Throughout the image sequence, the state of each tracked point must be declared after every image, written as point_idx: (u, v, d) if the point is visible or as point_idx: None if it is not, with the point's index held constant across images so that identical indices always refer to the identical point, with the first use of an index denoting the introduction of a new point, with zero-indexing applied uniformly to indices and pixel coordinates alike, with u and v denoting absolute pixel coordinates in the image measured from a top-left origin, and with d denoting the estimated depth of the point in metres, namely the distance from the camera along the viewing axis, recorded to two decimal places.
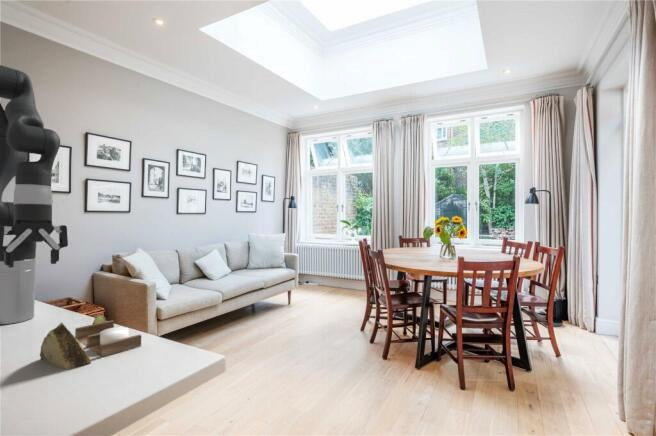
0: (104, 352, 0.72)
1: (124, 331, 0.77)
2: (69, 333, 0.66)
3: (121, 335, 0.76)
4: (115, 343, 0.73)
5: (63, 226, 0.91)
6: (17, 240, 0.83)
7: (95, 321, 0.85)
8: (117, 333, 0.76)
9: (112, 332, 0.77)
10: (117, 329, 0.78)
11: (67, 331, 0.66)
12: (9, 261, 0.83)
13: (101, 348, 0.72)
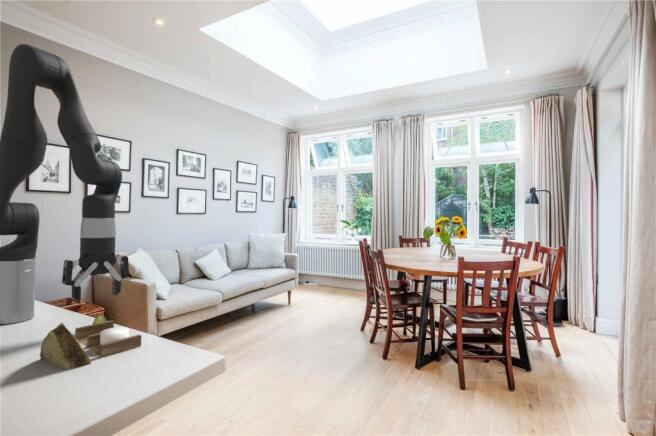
0: (104, 352, 0.72)
1: (124, 331, 0.77)
2: (69, 333, 0.66)
3: (121, 335, 0.76)
4: (115, 343, 0.73)
5: (125, 257, 0.91)
6: (84, 274, 0.83)
7: (95, 321, 0.85)
8: (117, 333, 0.76)
9: (113, 331, 0.77)
10: (117, 329, 0.78)
11: (67, 331, 0.66)
12: (76, 295, 0.82)
13: (101, 348, 0.72)
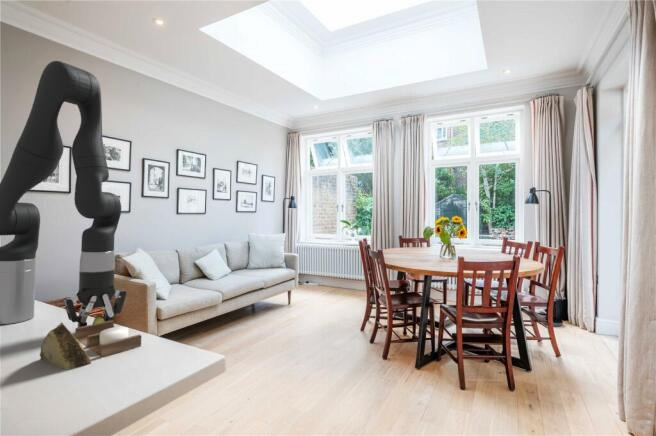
0: (104, 352, 0.72)
1: (124, 331, 0.77)
2: (69, 333, 0.66)
3: (121, 335, 0.76)
4: (115, 343, 0.73)
5: (123, 292, 0.91)
6: (87, 310, 0.84)
7: (95, 321, 0.85)
8: (117, 333, 0.76)
9: (112, 332, 0.77)
10: (116, 329, 0.78)
11: (67, 331, 0.66)
12: None
13: (101, 348, 0.72)
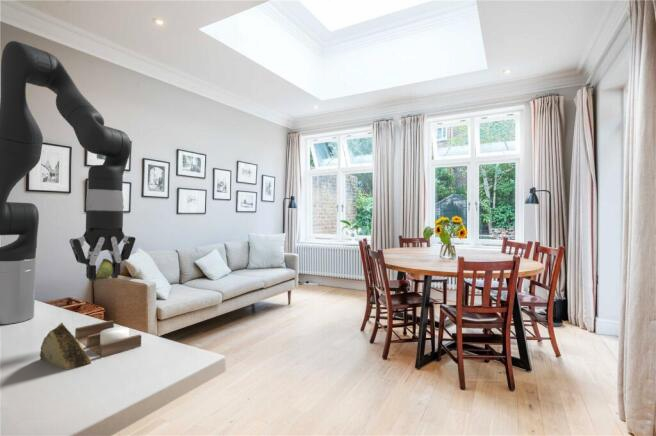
0: (104, 352, 0.72)
1: (125, 330, 0.78)
2: (69, 333, 0.66)
3: (124, 334, 0.76)
4: (115, 343, 0.73)
5: (132, 238, 0.86)
6: (95, 251, 0.78)
7: (102, 265, 0.79)
8: (119, 332, 0.76)
9: (113, 331, 0.77)
10: (116, 329, 0.78)
11: (67, 331, 0.66)
12: (91, 275, 0.79)
13: (101, 348, 0.72)
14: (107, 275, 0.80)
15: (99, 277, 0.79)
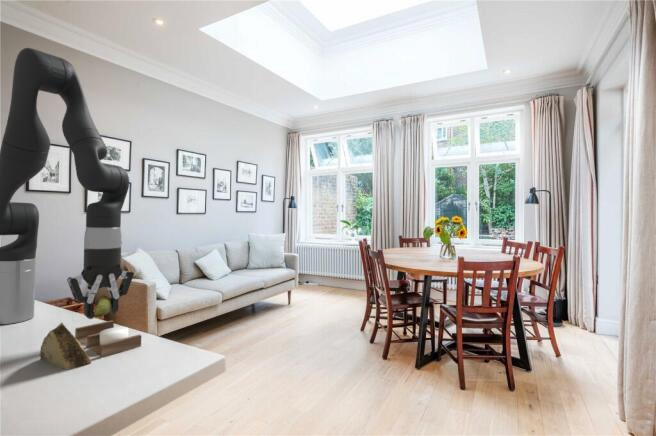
0: (104, 352, 0.72)
1: (125, 329, 0.78)
2: (69, 333, 0.66)
3: (124, 333, 0.76)
4: (115, 343, 0.73)
5: (131, 273, 0.85)
6: (93, 289, 0.78)
7: (100, 302, 0.79)
8: (119, 332, 0.76)
9: (113, 331, 0.77)
10: (115, 329, 0.78)
11: (67, 331, 0.66)
12: (89, 313, 0.79)
13: (101, 348, 0.72)
14: (105, 312, 0.80)
15: (97, 315, 0.79)
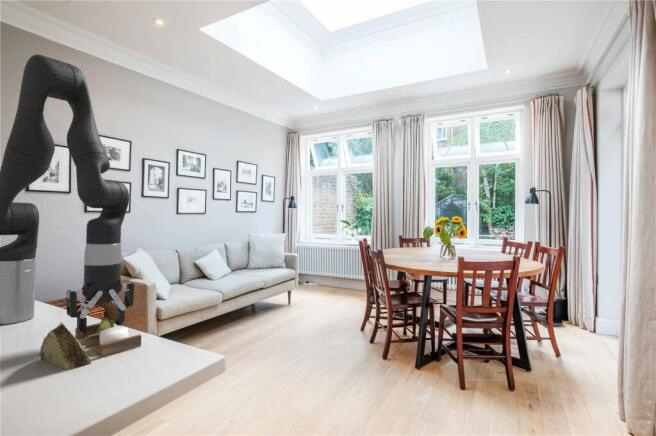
0: (104, 352, 0.72)
1: (125, 329, 0.78)
2: (69, 333, 0.66)
3: (125, 333, 0.77)
4: (115, 343, 0.73)
5: (131, 284, 0.86)
6: (89, 305, 0.78)
7: (102, 325, 0.80)
8: (120, 332, 0.76)
9: (113, 332, 0.77)
10: (114, 329, 0.78)
11: (67, 331, 0.66)
12: (82, 328, 0.78)
13: (101, 348, 0.72)
14: None
15: None
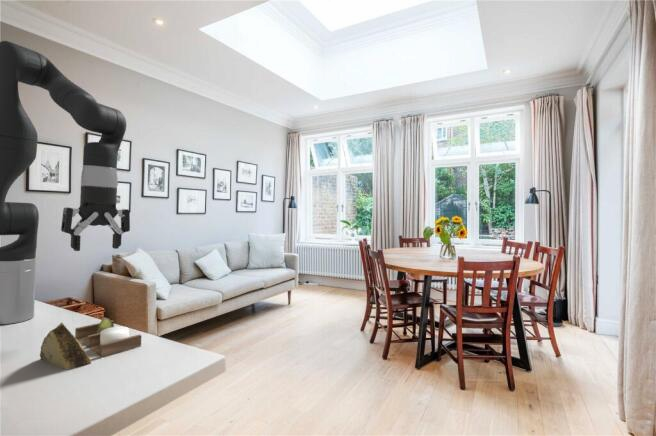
0: (104, 352, 0.72)
1: (125, 329, 0.78)
2: (69, 333, 0.66)
3: (127, 333, 0.77)
4: (115, 343, 0.73)
5: (126, 210, 0.88)
6: (84, 223, 0.80)
7: (102, 325, 0.80)
8: (121, 332, 0.77)
9: (114, 331, 0.77)
10: (114, 329, 0.78)
11: (67, 331, 0.66)
12: (76, 245, 0.80)
13: (101, 348, 0.72)
14: None
15: None
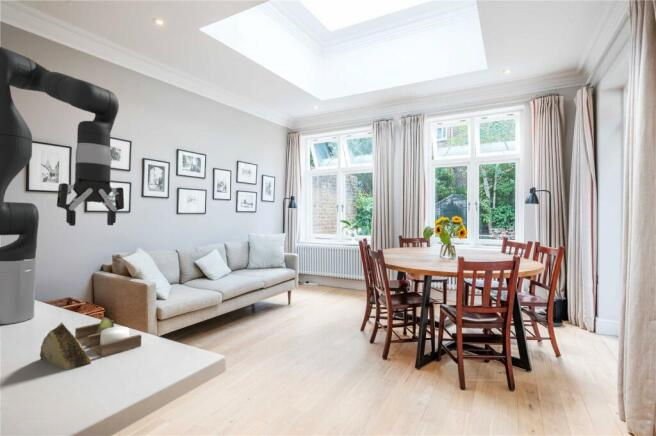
0: (104, 352, 0.72)
1: (126, 329, 0.79)
2: (69, 333, 0.66)
3: (128, 333, 0.78)
4: (115, 343, 0.73)
5: (120, 188, 0.91)
6: (79, 199, 0.83)
7: (102, 325, 0.80)
8: (123, 331, 0.77)
9: (115, 331, 0.77)
10: (114, 329, 0.78)
11: (67, 331, 0.66)
12: (71, 219, 0.83)
13: (101, 348, 0.72)
14: None
15: None
